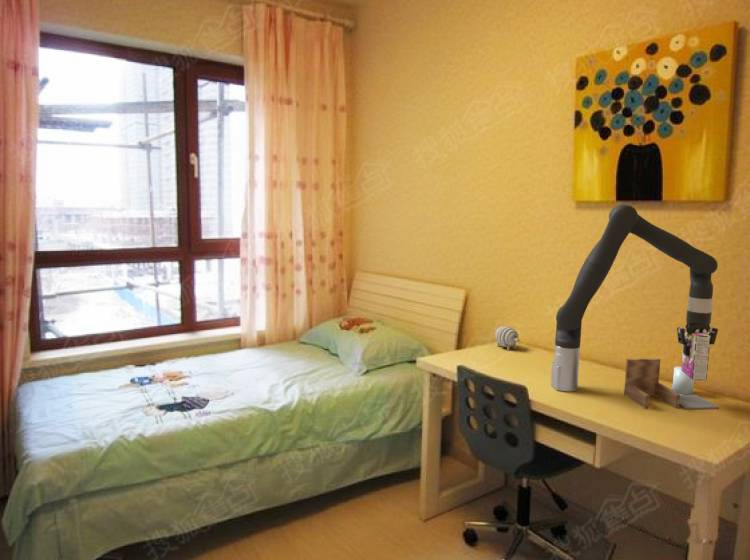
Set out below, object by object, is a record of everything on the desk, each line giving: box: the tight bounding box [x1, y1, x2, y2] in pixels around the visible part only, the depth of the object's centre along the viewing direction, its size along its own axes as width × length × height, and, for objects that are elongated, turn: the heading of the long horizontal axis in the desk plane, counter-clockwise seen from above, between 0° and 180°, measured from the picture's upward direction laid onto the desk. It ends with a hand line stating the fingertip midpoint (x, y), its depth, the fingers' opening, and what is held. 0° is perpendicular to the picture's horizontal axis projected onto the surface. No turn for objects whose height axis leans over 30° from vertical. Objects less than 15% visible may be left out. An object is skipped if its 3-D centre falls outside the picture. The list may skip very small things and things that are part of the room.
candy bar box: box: [680, 331, 711, 381], centre depth 186 cm, size 11×5×16 cm, turn 168°
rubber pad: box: [679, 394, 719, 410], centre depth 189 cm, size 12×12×1 cm
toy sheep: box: [494, 325, 520, 351], centre depth 260 cm, size 11×17×11 cm, turn 32°
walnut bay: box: [623, 358, 681, 410], centre depth 189 cm, size 12×14×14 cm
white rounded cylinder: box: [671, 366, 695, 395], centre depth 199 cm, size 7×7×9 cm
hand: (695, 355), depth 186 cm, fingers closed on candy bar box, 5 cm apart
